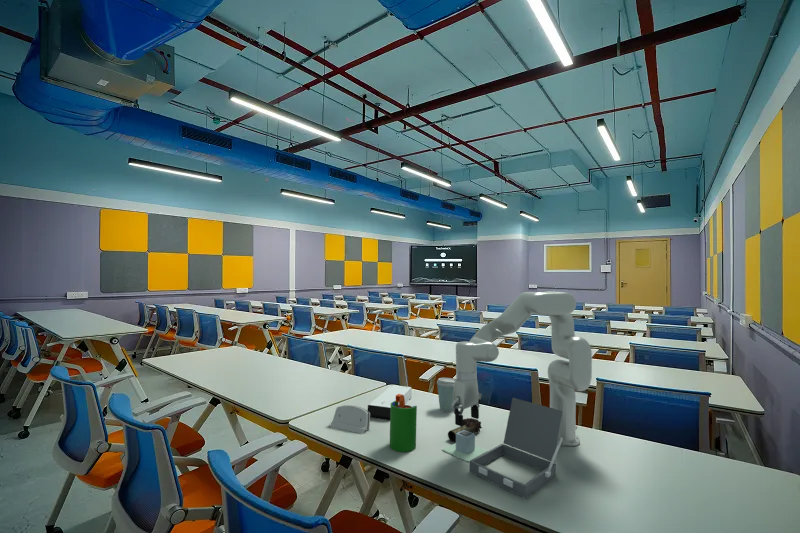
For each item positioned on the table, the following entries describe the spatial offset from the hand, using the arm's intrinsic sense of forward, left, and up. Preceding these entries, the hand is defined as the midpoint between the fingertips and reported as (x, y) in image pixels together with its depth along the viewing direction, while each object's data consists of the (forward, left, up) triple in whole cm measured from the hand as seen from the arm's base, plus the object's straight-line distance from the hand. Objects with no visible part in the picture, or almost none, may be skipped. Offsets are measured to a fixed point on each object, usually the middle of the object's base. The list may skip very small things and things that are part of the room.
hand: (467, 421), depth 139 cm
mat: (+1, 0, -11) cm, 11 cm away
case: (0, +20, -11) cm, 23 cm away
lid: (-11, +20, +1) cm, 23 cm away
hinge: (+20, -46, -11) cm, 51 cm away
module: (+1, 0, -10) cm, 10 cm away
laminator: (-10, -54, -12) cm, 56 cm away
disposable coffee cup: (-28, -32, -11) cm, 44 cm away
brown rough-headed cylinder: (-11, -9, -11) cm, 18 cm away
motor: (+16, -18, -11) cm, 27 cm away
